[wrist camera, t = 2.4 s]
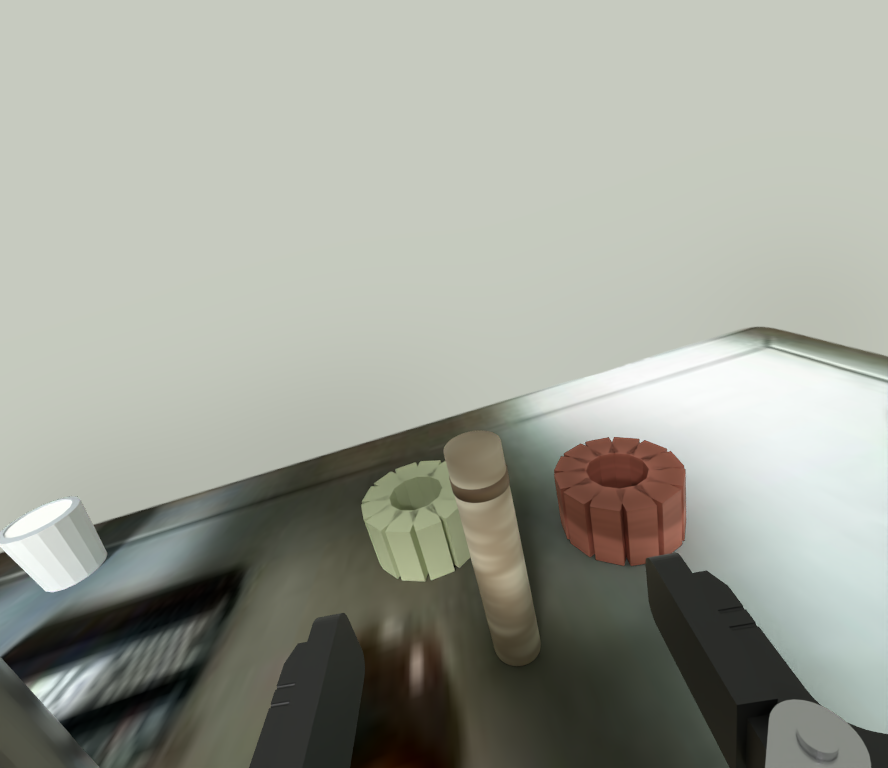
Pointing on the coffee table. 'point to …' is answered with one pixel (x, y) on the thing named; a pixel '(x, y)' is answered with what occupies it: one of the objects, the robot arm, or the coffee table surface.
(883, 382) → the coffee table surface
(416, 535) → the pale green bead
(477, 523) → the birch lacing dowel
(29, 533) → the shot glass
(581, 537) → the red bead
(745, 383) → the coffee table surface
